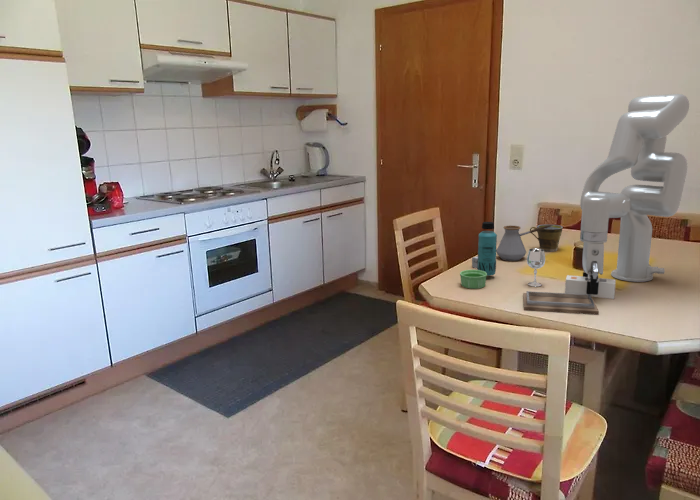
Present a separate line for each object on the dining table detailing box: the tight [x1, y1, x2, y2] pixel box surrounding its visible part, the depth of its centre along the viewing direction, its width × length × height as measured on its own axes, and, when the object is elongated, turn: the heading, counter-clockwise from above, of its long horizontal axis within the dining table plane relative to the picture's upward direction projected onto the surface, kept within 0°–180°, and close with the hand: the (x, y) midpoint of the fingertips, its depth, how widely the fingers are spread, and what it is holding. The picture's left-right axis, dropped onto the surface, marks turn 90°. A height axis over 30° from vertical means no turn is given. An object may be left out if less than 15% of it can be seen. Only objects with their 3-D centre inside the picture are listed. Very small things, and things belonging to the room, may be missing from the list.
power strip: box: [564, 274, 617, 300], centre depth 163 cm, size 14×5×5 cm, turn 63°
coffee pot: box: [496, 224, 553, 262], centre depth 204 cm, size 21×12×15 cm, turn 56°
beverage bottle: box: [476, 221, 498, 277], centre depth 183 cm, size 6×7×20 cm
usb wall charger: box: [471, 256, 478, 270], centre depth 198 cm, size 4×7×4 cm, turn 119°
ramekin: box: [459, 269, 488, 290], centre depth 176 cm, size 9×9×4 cm
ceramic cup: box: [529, 223, 564, 253], centre depth 218 cm, size 13×10×10 cm
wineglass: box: [526, 247, 546, 288], centre depth 173 cm, size 6×6×12 cm
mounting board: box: [522, 290, 600, 316], centre depth 155 cm, size 20×13×2 cm, turn 73°
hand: (589, 289), depth 163 cm, fingers open, 9 cm apart
